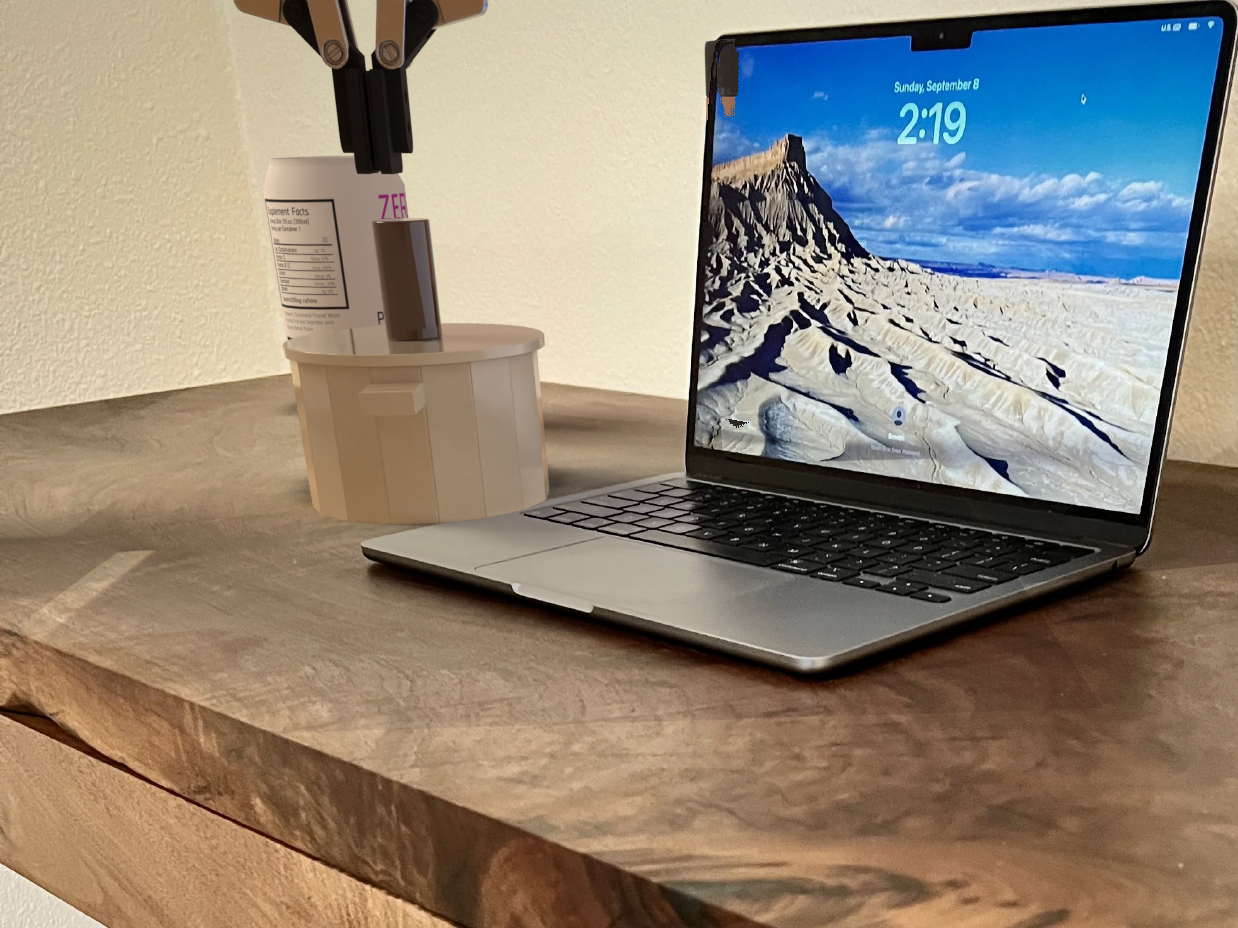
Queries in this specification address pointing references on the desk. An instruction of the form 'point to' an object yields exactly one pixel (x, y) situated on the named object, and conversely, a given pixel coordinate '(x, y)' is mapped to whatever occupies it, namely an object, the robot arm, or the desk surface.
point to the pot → (423, 440)
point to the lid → (410, 315)
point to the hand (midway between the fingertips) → (380, 171)
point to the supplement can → (328, 240)
